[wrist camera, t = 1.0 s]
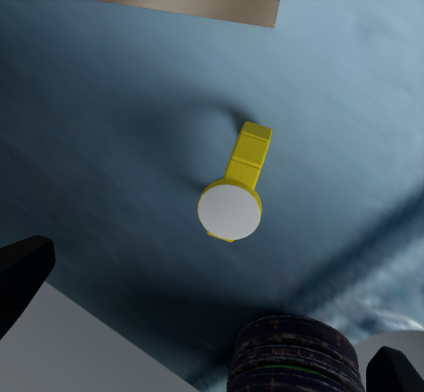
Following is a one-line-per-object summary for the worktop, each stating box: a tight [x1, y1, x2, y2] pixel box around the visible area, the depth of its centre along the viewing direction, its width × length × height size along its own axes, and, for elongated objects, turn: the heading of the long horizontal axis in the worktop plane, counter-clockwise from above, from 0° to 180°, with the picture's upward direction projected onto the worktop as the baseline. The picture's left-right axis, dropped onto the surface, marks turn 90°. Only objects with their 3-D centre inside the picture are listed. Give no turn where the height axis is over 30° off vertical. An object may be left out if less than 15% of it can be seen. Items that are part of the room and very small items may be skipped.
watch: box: [197, 121, 273, 242], centre depth 16 cm, size 6×3×6 cm, turn 165°
